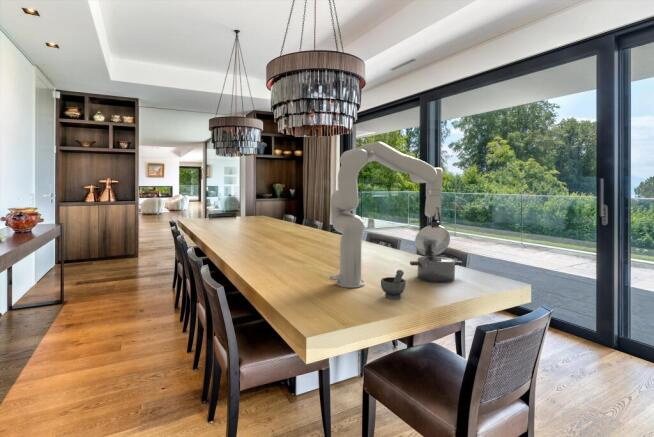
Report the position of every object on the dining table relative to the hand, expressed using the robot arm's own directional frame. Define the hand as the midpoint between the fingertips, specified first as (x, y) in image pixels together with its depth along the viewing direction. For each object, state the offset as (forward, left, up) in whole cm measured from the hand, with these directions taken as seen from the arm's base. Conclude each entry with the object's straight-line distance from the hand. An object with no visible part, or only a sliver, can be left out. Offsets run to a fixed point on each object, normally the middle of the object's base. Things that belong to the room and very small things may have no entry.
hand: (432, 230), depth 175 cm
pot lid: (0, -1, -4) cm, 4 cm away
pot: (0, -6, -22) cm, 23 cm away
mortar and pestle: (-27, -35, -22) cm, 50 cm away
